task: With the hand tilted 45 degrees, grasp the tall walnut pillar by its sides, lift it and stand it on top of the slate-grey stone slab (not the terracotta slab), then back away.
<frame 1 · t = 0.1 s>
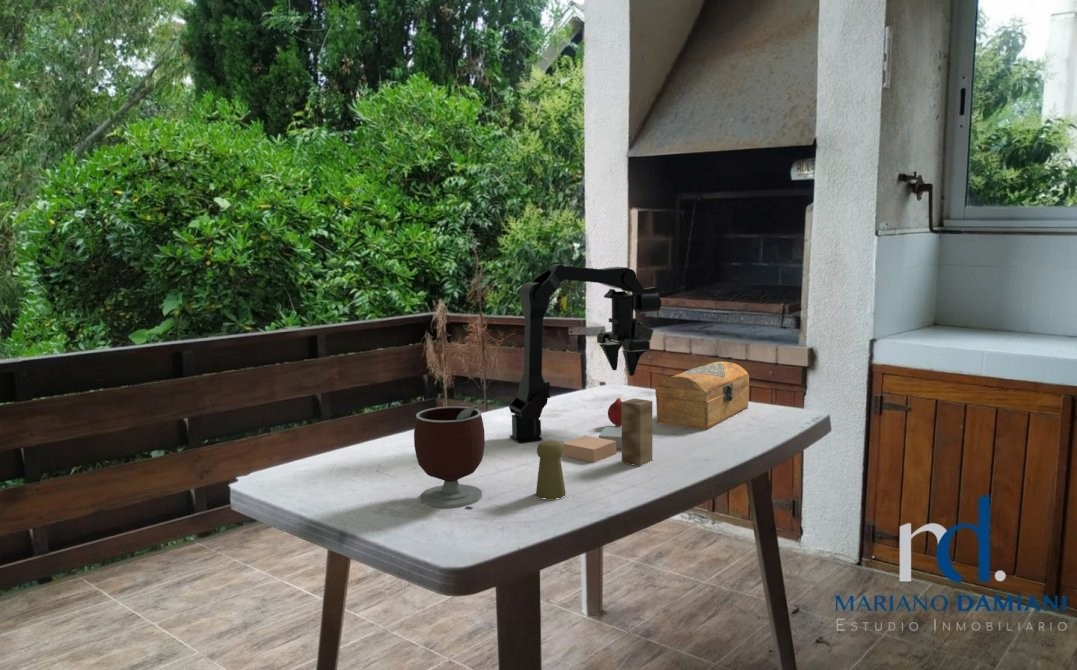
hand: (622, 372, 209), 15 cm above the table, tool pointing down, fingers open, 9 cm apart
olive green game pawn: (550, 496, 157), on the table
stone slab: (620, 443, 194), on the table
mate gourd: (454, 499, 156), on the table
walnut pillar: (637, 461, 178), on the table
terracotta slab: (589, 454, 185), on the table
onion: (618, 427, 211), on the table
wooden box: (705, 417, 221), on the table
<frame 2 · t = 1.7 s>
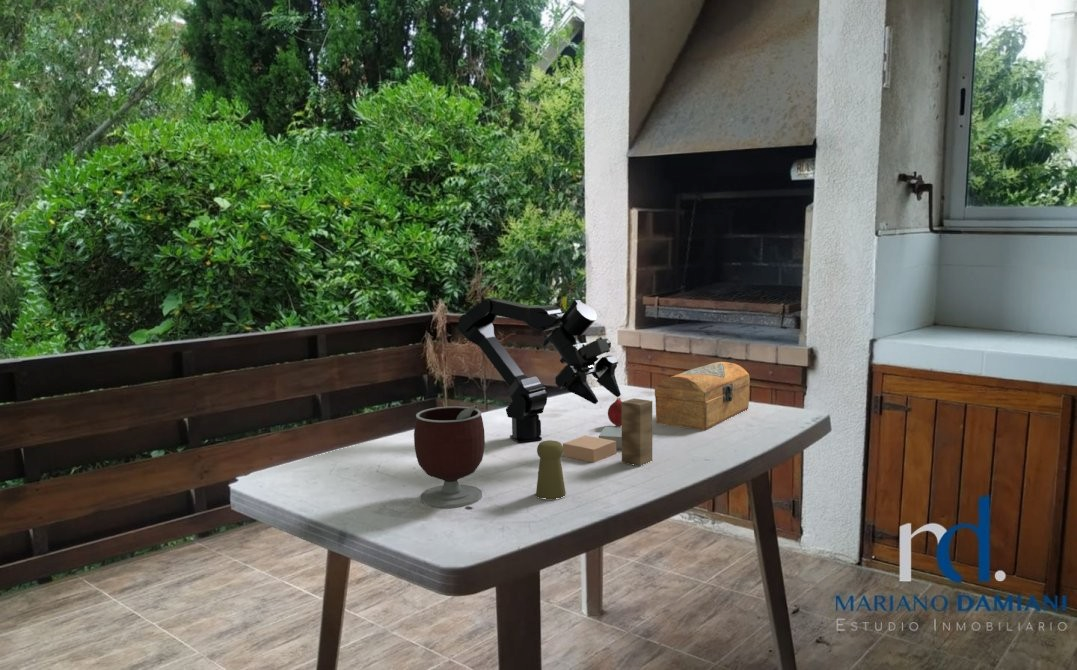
hand: (608, 399, 182), 13 cm above the table, tool tilted 45°, fingers open, 9 cm apart
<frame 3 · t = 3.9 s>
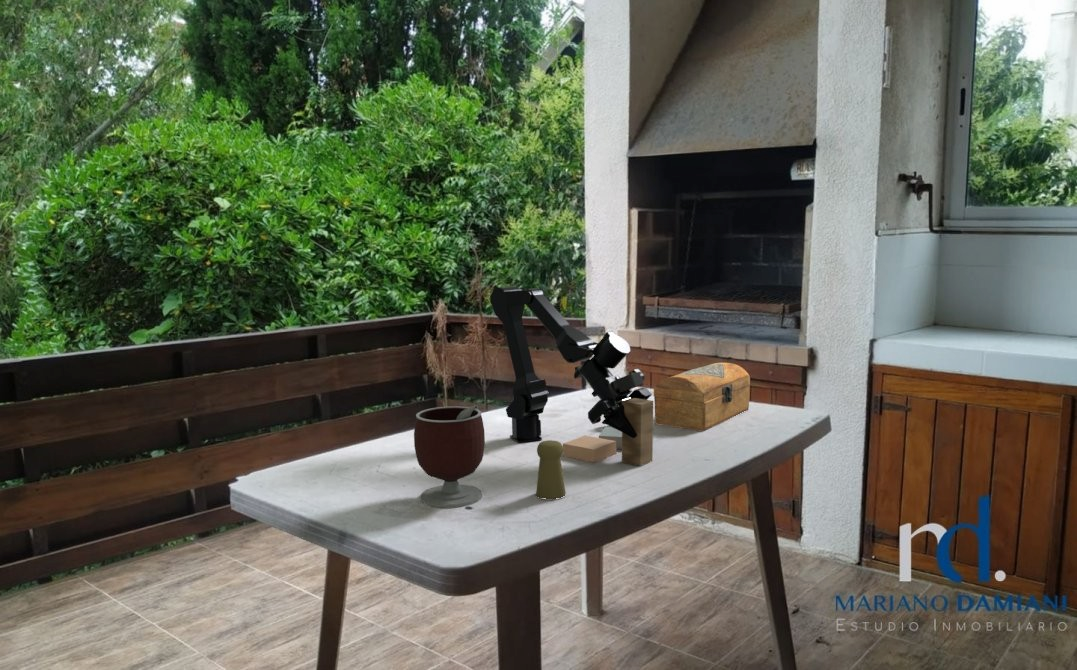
hand: (642, 434, 177), 7 cm above the table, tool tilted 45°, fingers closed on walnut pillar, 5 cm apart
walnut pillar: (637, 461, 178), on the table, touching gripper
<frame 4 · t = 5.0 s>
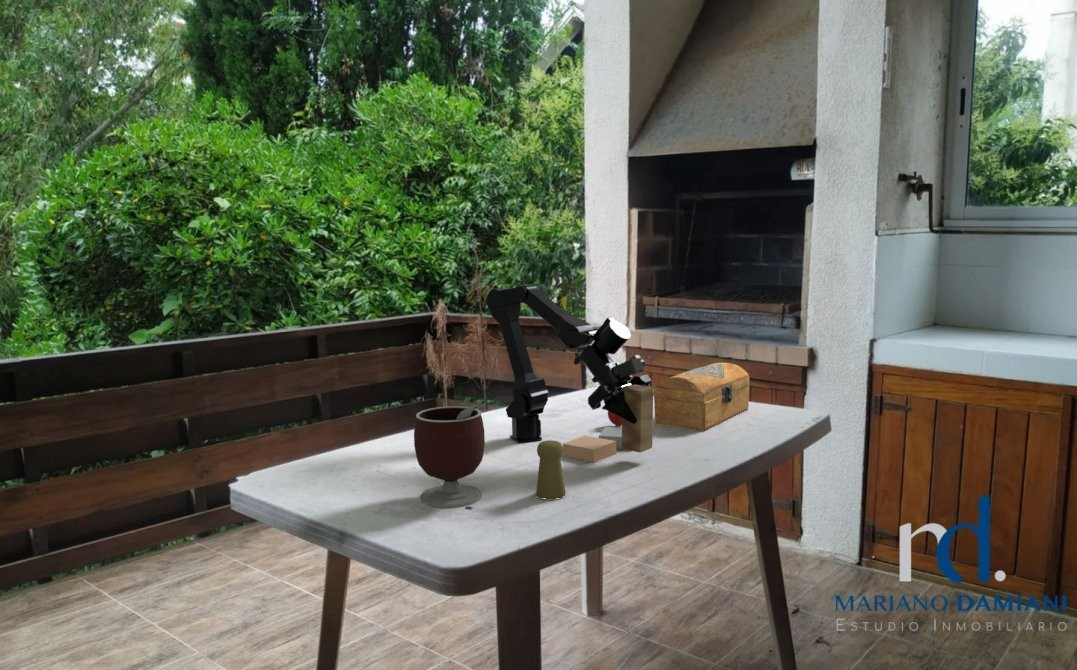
hand: (642, 420, 176), 10 cm above the table, tool tilted 45°, fingers closed on walnut pillar, 5 cm apart
walnut pillar: (636, 448, 178), point 3 cm above the table, touching gripper
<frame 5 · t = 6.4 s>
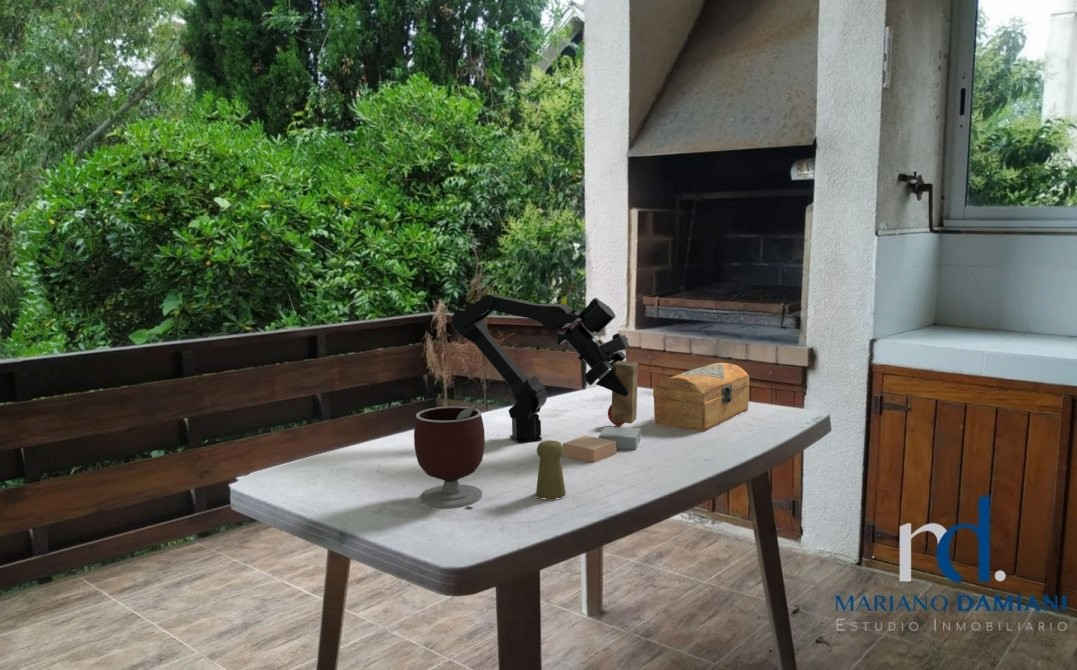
hand: (629, 393, 189), 13 cm above the table, tool tilted 45°, fingers closed on walnut pillar, 5 cm apart
walnut pillar: (623, 420, 190), point 7 cm above the table, touching gripper
when the fingers open (10 cm above the table, at t = 7.9 s): walnut pillar stays where it is, resting on stone slab.
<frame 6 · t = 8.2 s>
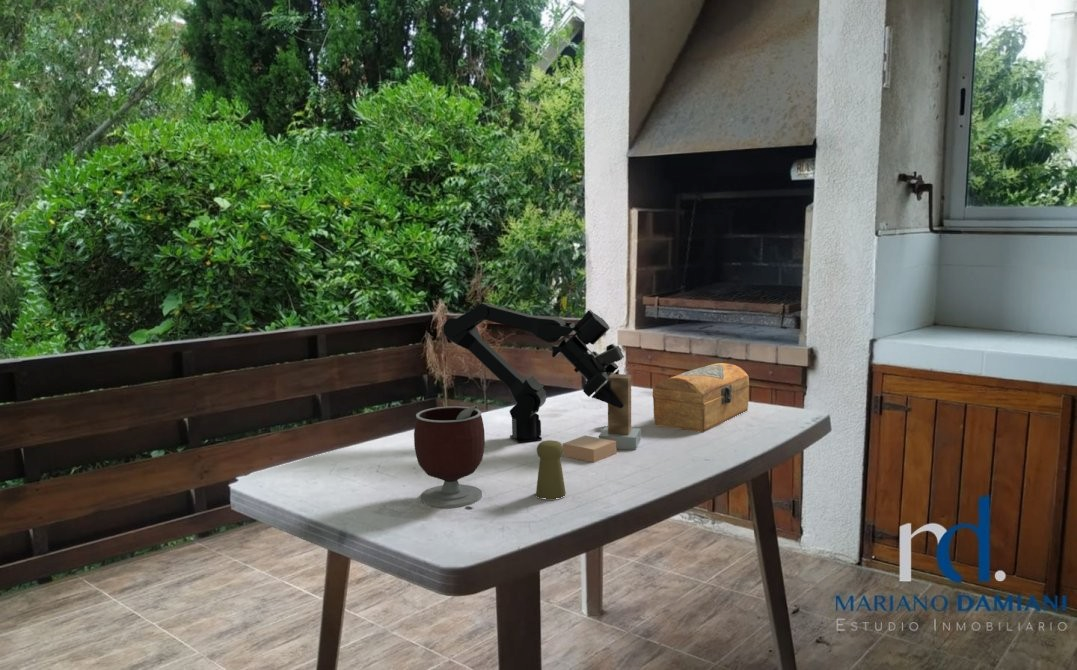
hand: (625, 403, 192), 10 cm above the table, tool tilted 45°, fingers open, 9 cm apart
walnut pillar: (619, 432, 193), point 3 cm above the table, touching stone slab
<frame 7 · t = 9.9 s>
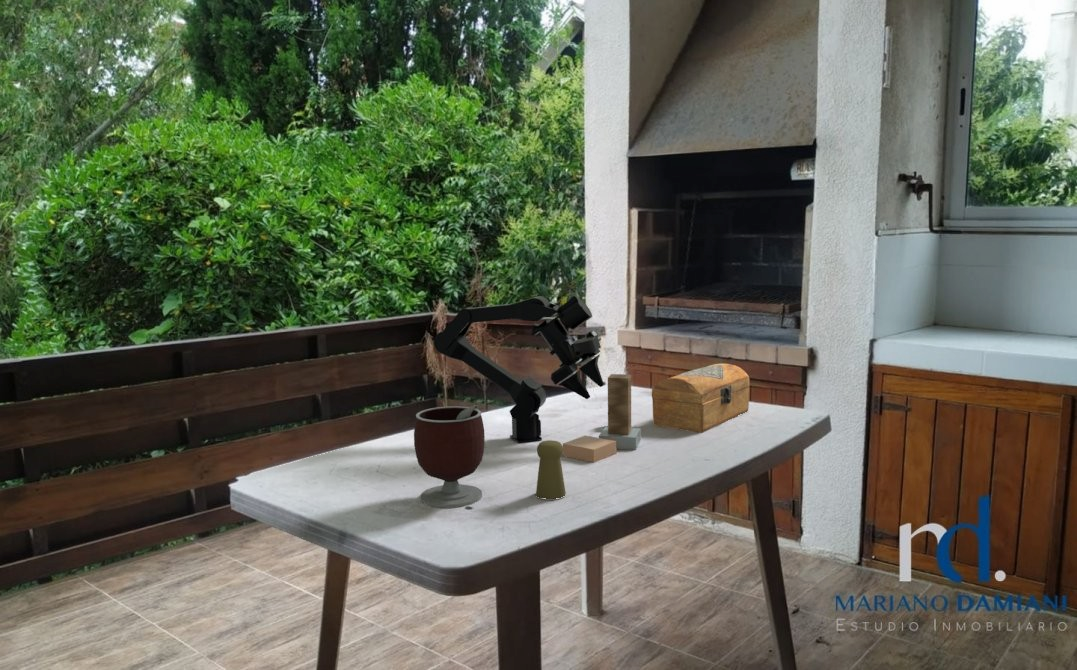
hand: (595, 392, 194), 13 cm above the table, tool tilted 35°, fingers open, 9 cm apart
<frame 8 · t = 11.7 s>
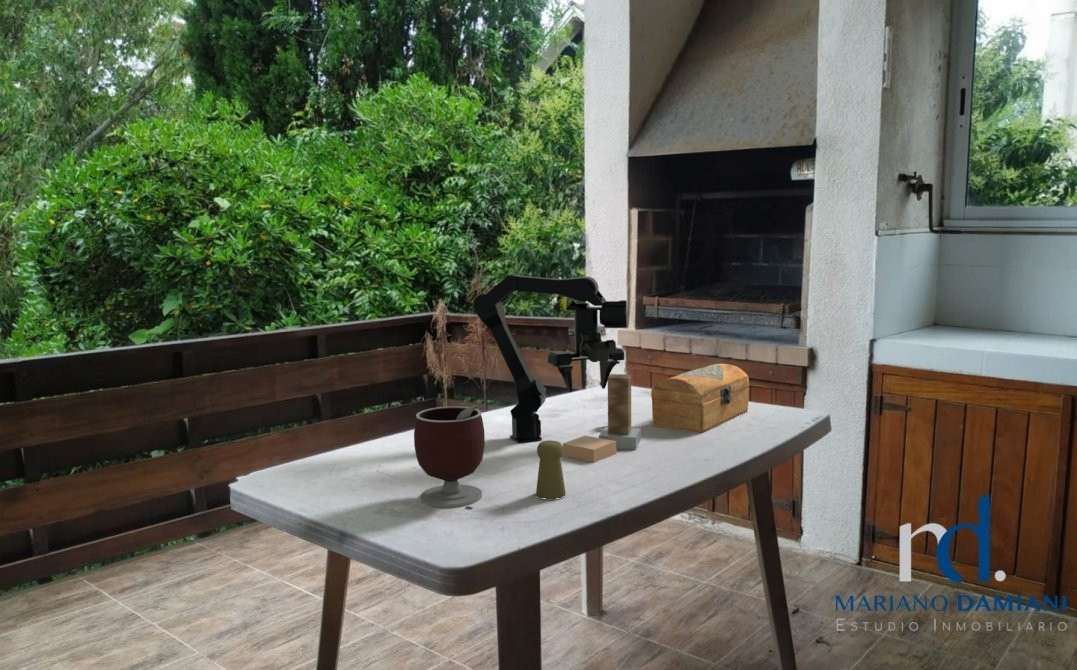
hand: (586, 390, 195), 13 cm above the table, tool pointing down, fingers open, 9 cm apart
at the end: walnut pillar inside the target area on the stone slab (0.0 cm from its centre), point 3.0 cm above the stone slab's base; walnut pillar tilted 0°; the gripper is holding nothing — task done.
